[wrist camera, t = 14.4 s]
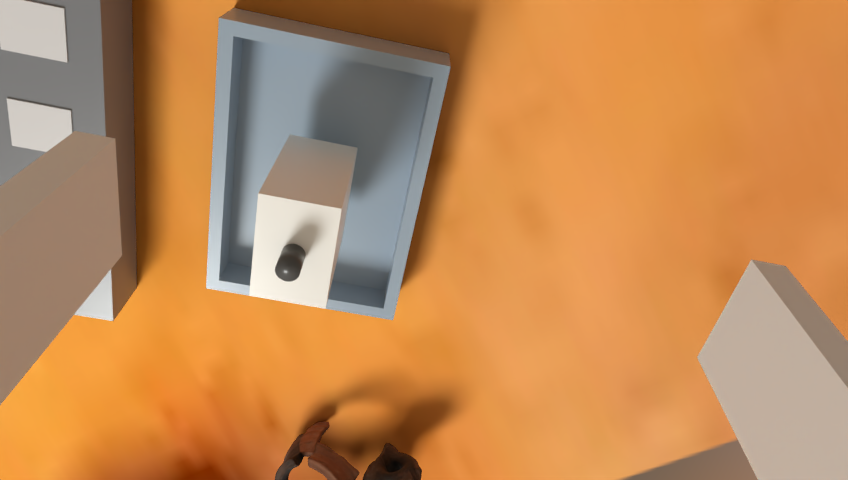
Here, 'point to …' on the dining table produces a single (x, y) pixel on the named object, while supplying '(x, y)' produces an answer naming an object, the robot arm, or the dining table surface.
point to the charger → (301, 221)
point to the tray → (327, 121)
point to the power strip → (72, 104)
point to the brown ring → (386, 476)
